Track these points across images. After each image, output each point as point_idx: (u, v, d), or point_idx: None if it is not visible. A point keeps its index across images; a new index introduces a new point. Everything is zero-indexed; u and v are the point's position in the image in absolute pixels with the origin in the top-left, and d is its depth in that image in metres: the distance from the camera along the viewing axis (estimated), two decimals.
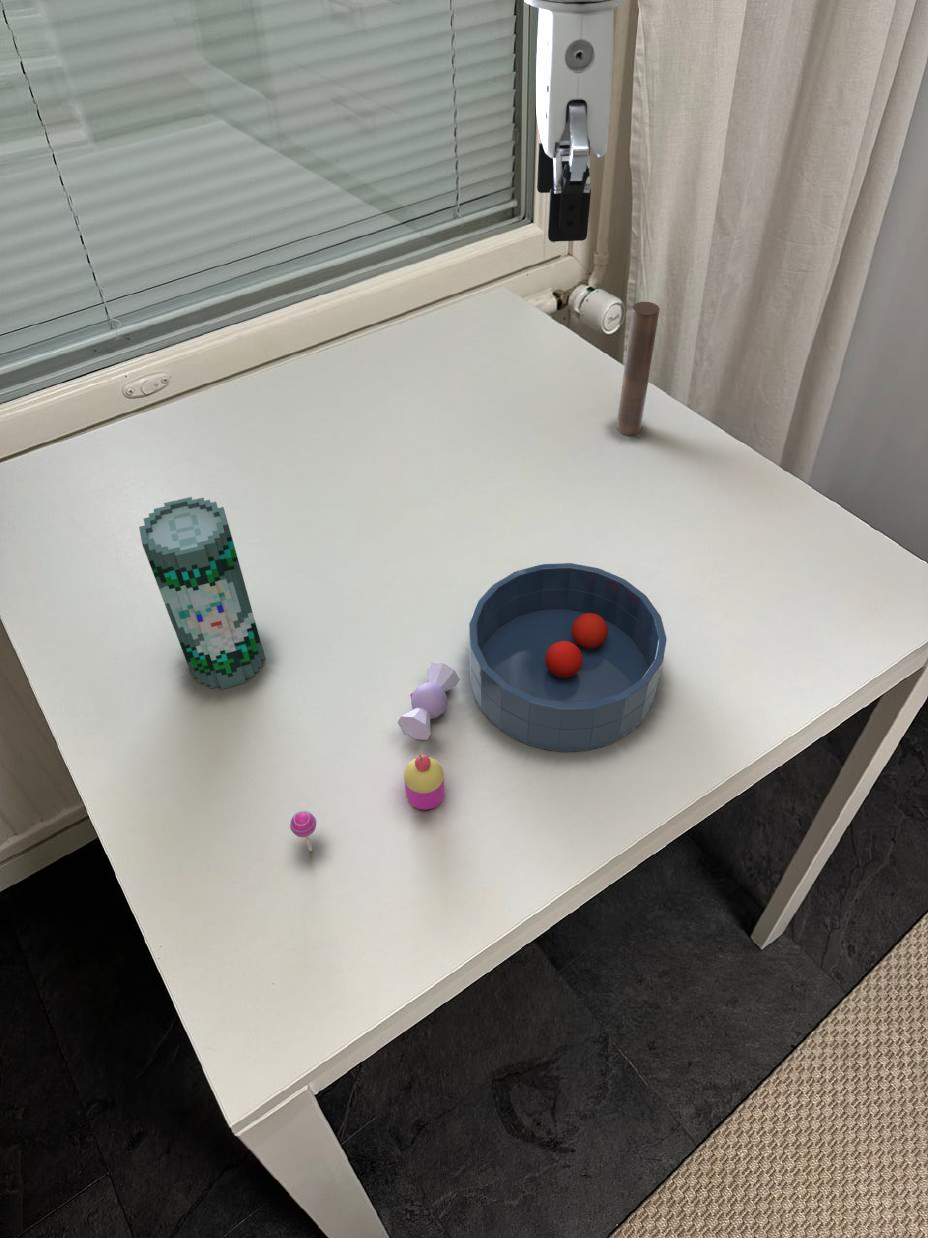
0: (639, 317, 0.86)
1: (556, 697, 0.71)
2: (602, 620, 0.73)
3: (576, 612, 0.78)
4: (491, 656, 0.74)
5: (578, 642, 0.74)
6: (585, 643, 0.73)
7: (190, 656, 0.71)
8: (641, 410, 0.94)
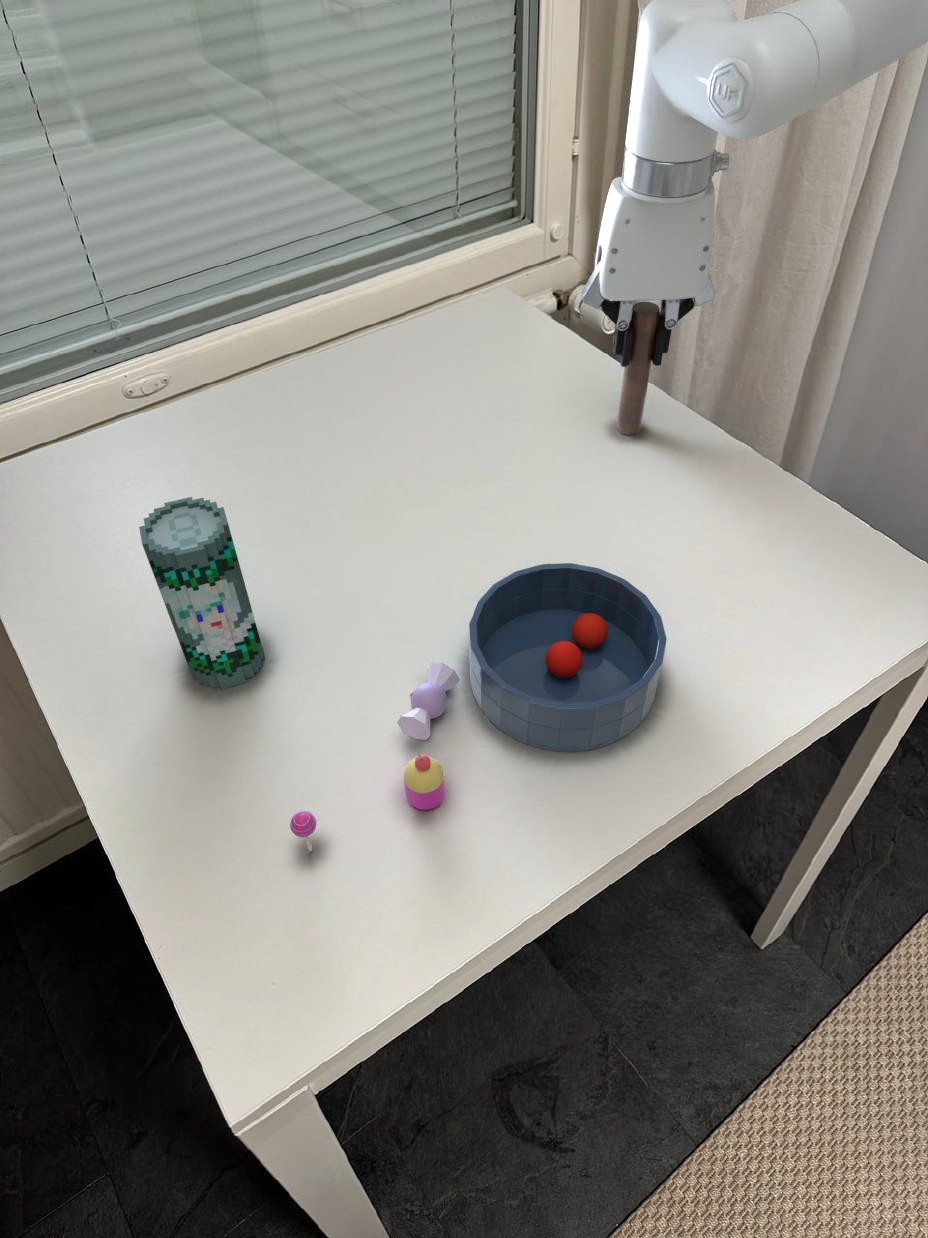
0: (639, 317, 0.86)
1: (556, 697, 0.71)
2: (602, 620, 0.73)
3: (576, 612, 0.78)
4: (491, 656, 0.74)
5: (578, 642, 0.74)
6: (585, 643, 0.73)
7: (190, 656, 0.71)
8: (641, 410, 0.94)
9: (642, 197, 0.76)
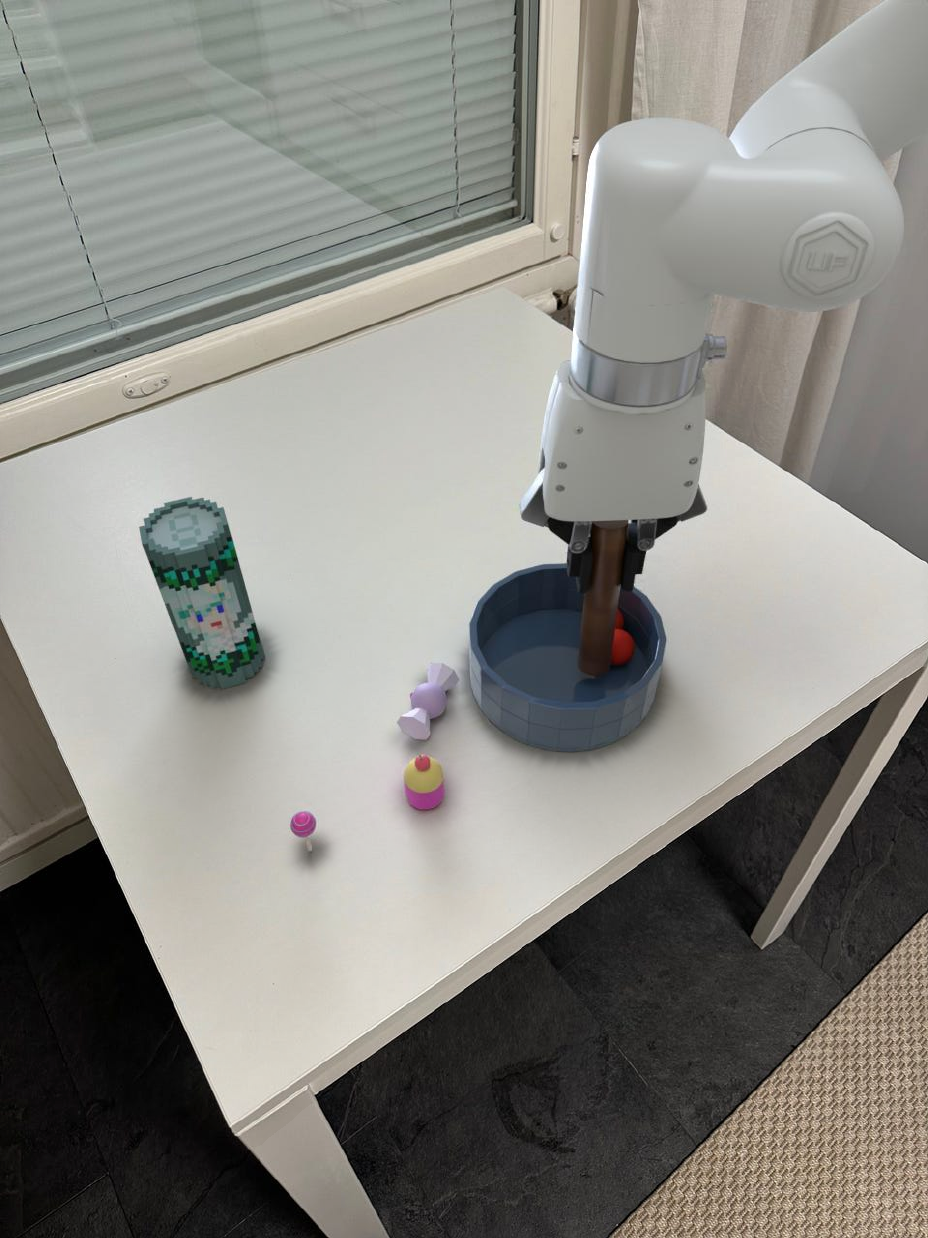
0: (599, 532, 0.62)
1: (556, 697, 0.71)
2: None
3: (576, 612, 0.78)
4: (491, 656, 0.74)
5: None
6: None
7: (190, 656, 0.71)
8: (608, 646, 0.69)
9: (599, 403, 0.51)
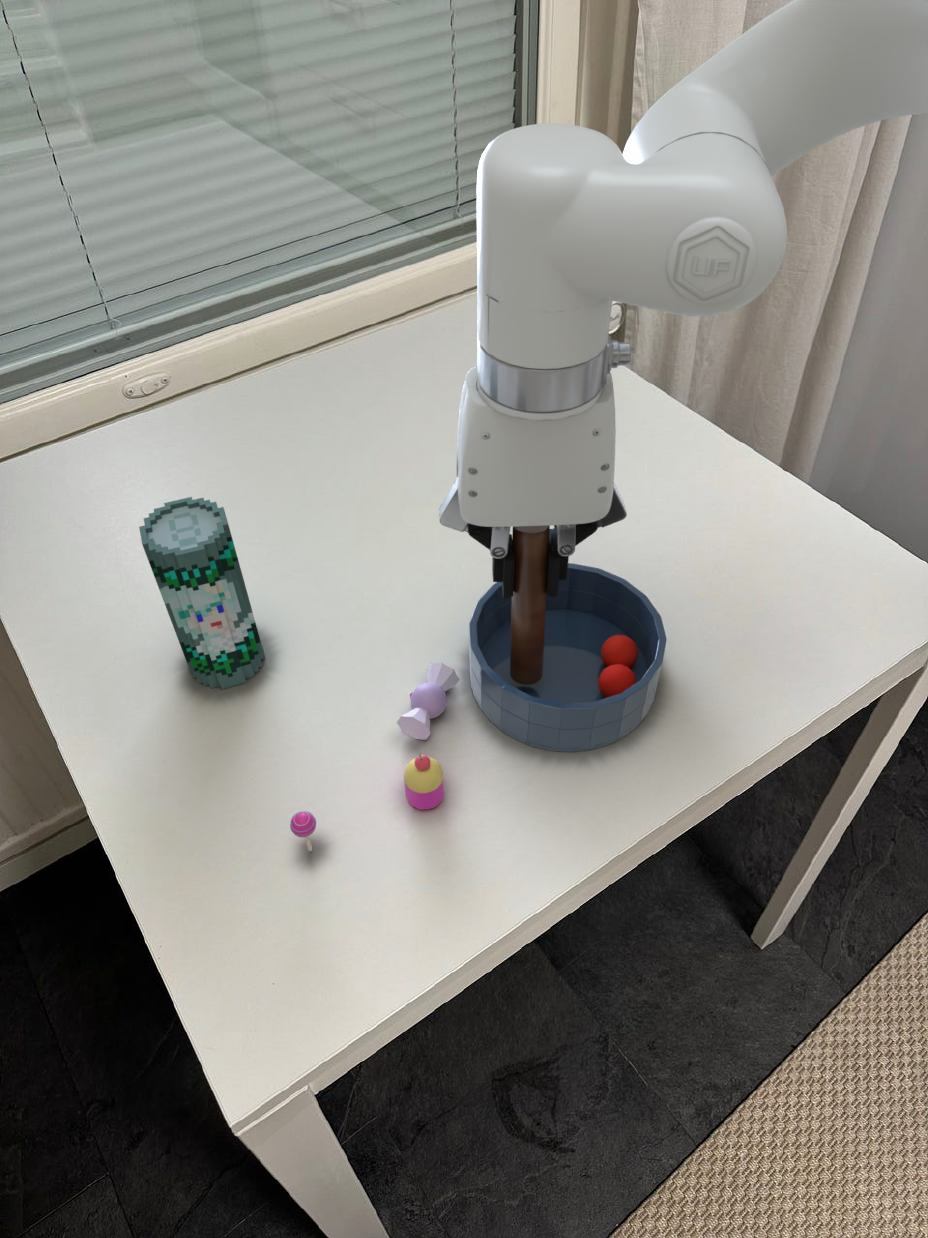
0: (519, 535, 0.62)
1: (556, 697, 0.71)
2: (630, 639, 0.72)
3: (576, 612, 0.78)
4: (491, 656, 0.74)
5: None
6: None
7: (190, 656, 0.71)
8: (537, 655, 0.68)
9: (502, 409, 0.51)
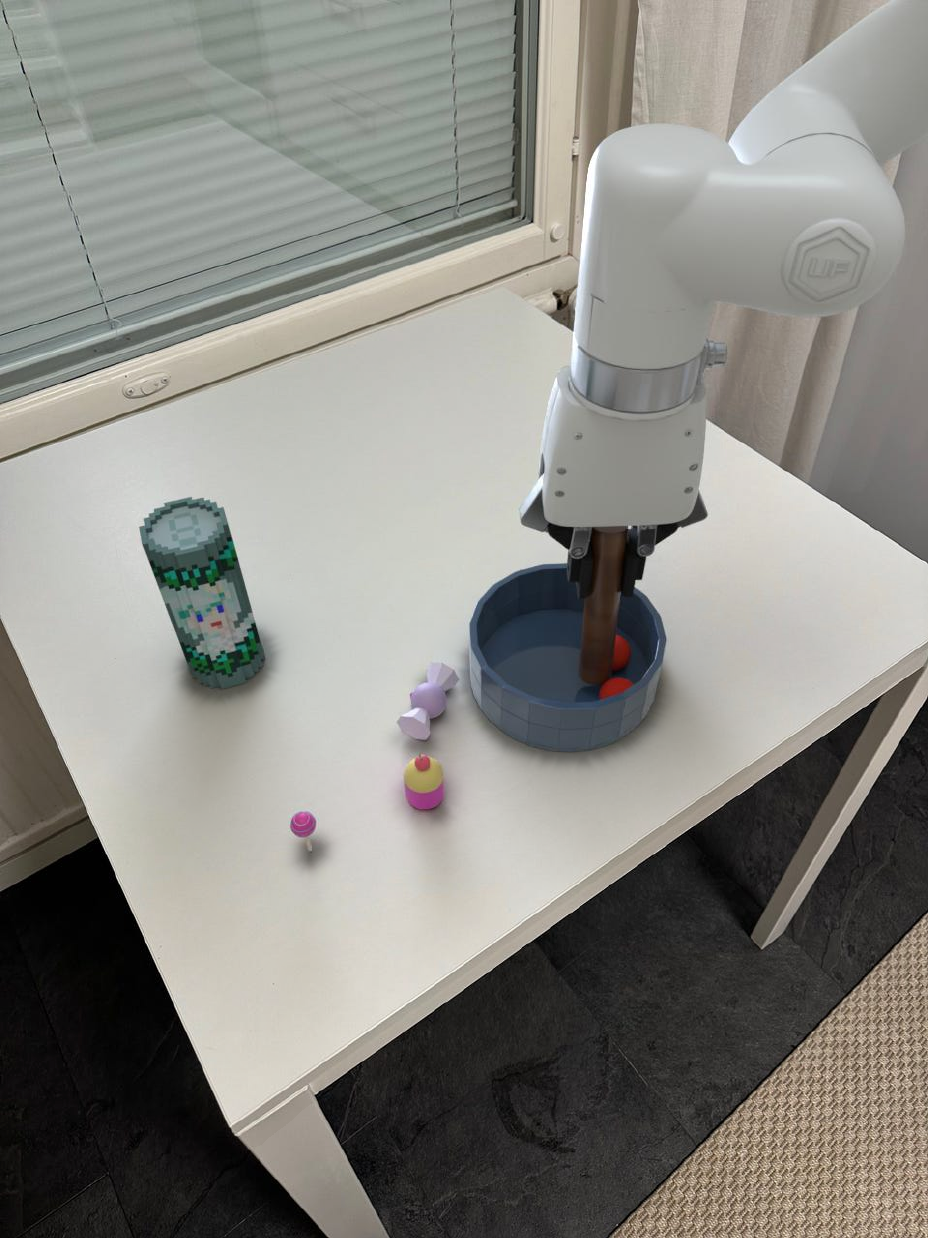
0: (598, 536, 0.62)
1: (556, 697, 0.71)
2: (618, 636, 0.72)
3: (576, 612, 0.78)
4: (491, 656, 0.74)
5: None
6: None
7: (190, 656, 0.71)
8: (608, 655, 0.68)
9: (598, 409, 0.51)
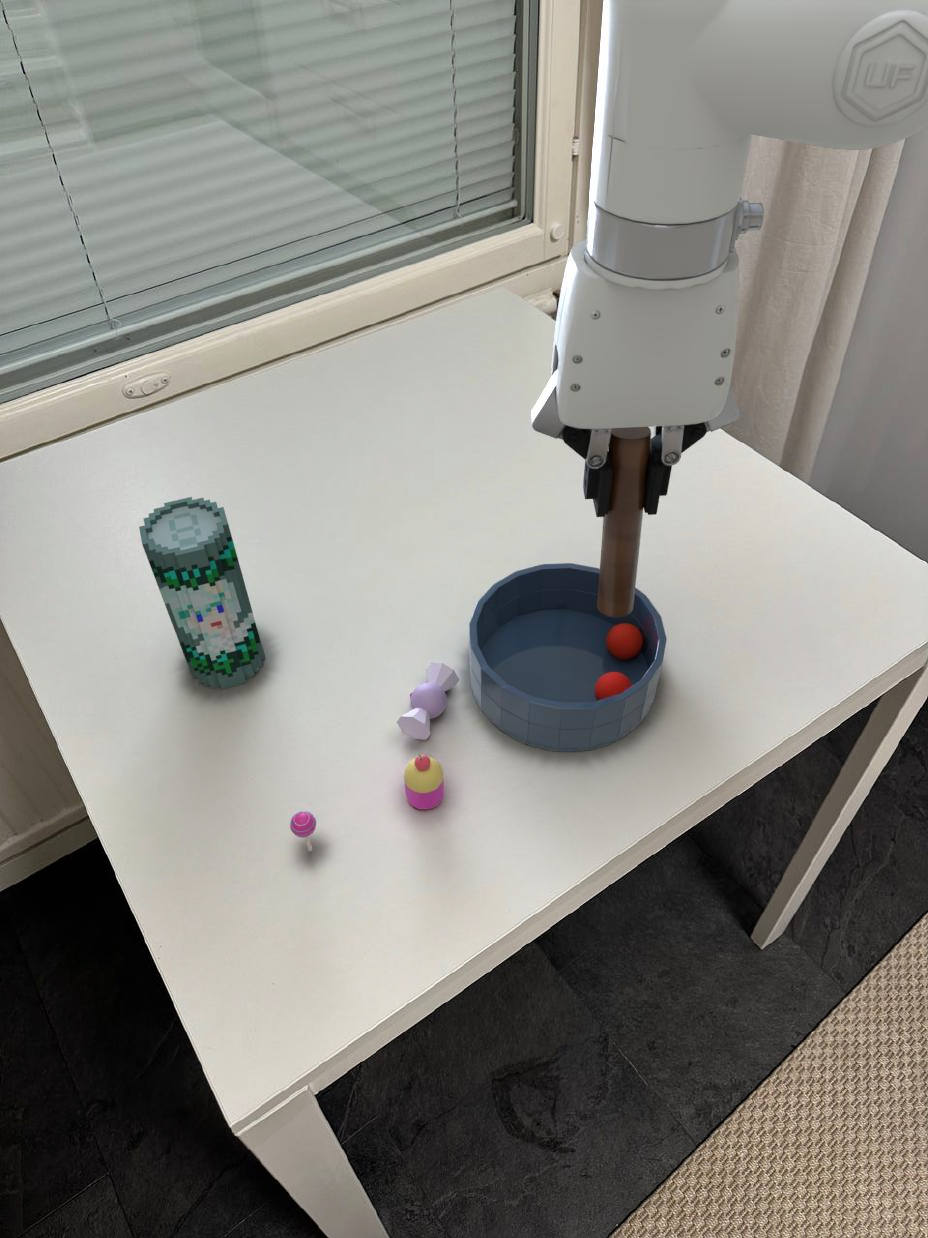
0: (617, 443, 0.56)
1: (556, 697, 0.71)
2: None
3: (576, 612, 0.78)
4: (491, 656, 0.74)
5: (629, 656, 0.73)
6: (631, 657, 0.73)
7: (190, 656, 0.71)
8: (630, 582, 0.62)
9: (619, 279, 0.45)
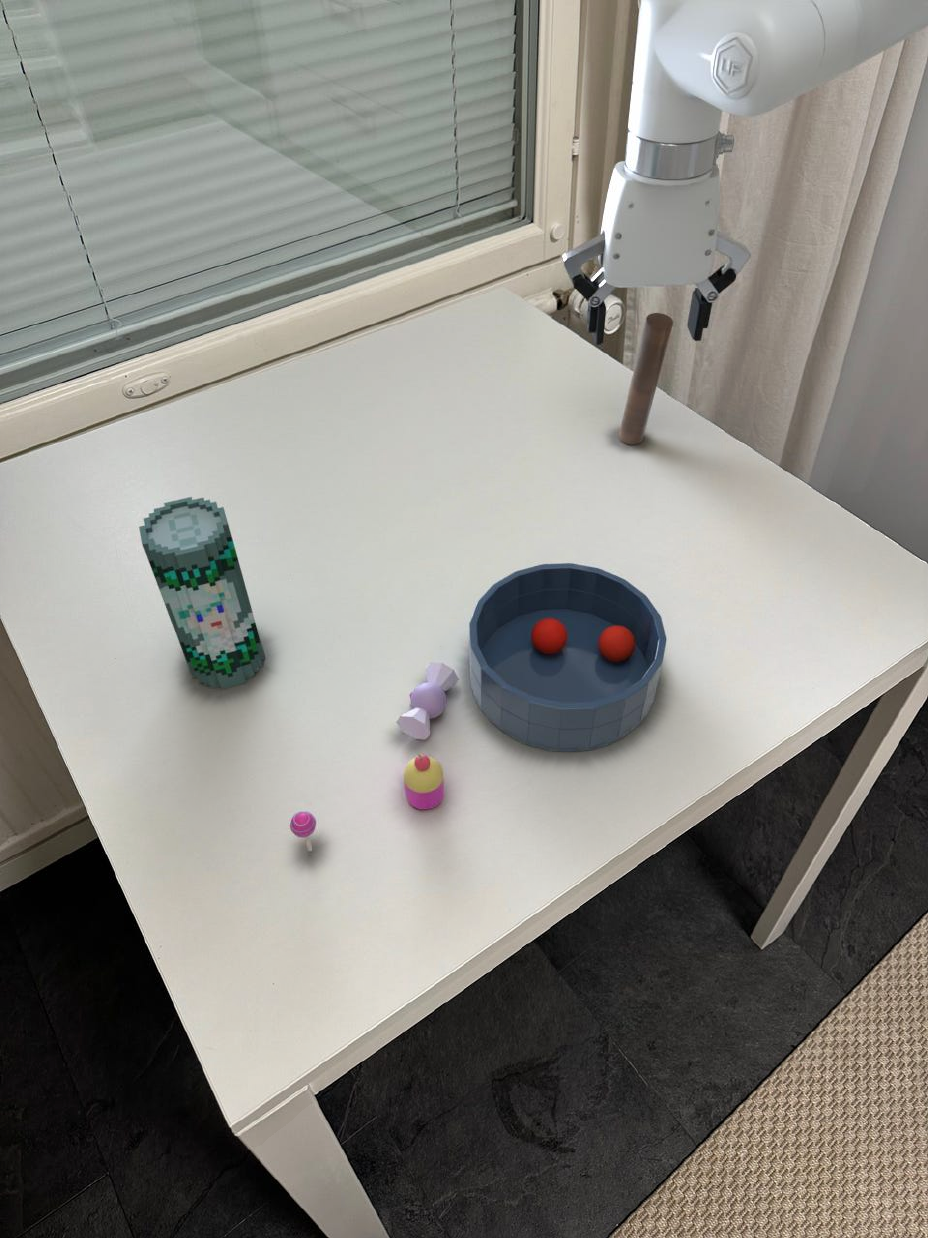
0: (650, 329, 0.84)
1: (556, 697, 0.71)
2: None
3: (576, 612, 0.78)
4: (491, 656, 0.74)
5: (623, 659, 0.72)
6: (627, 658, 0.73)
7: (190, 656, 0.71)
8: (644, 421, 0.93)
9: (646, 180, 0.75)
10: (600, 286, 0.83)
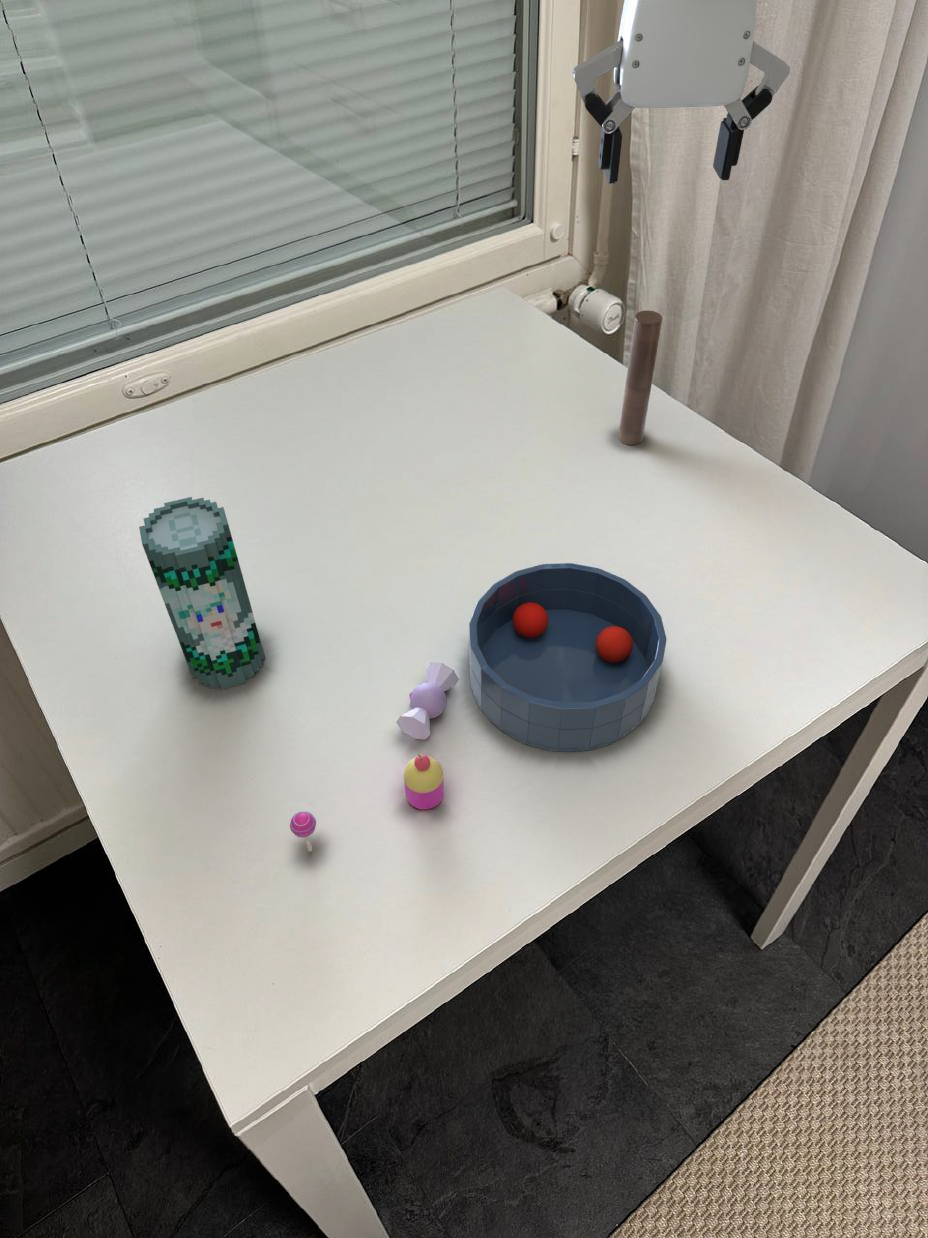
0: (640, 325, 0.85)
1: (556, 697, 0.71)
2: None
3: (576, 612, 0.78)
4: (491, 656, 0.74)
5: (621, 660, 0.72)
6: (626, 657, 0.73)
7: (190, 656, 0.71)
8: (642, 421, 0.93)
9: None
10: (616, 106, 0.72)
